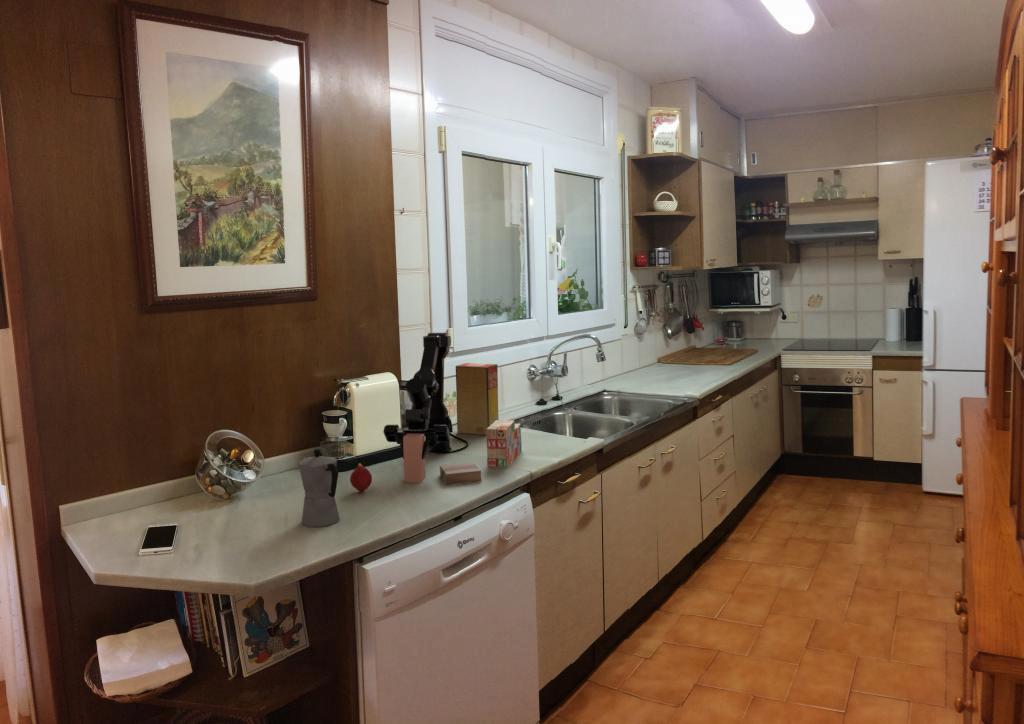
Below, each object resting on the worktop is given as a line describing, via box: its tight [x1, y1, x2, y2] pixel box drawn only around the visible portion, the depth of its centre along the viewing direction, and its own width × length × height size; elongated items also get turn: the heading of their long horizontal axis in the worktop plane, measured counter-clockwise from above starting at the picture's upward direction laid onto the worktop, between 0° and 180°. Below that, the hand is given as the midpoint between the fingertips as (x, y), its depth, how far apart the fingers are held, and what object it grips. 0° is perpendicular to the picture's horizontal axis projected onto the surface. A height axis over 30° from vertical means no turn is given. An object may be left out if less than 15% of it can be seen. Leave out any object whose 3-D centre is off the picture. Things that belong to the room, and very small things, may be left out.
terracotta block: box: [403, 434, 427, 483], centre depth 216 cm, size 5×5×13 cm
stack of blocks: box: [486, 419, 522, 468], centre depth 238 cm, size 21×6×12 cm, turn 167°
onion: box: [349, 463, 373, 493], centre depth 206 cm, size 6×6×8 cm
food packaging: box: [455, 362, 500, 437], centre depth 276 cm, size 13×9×25 cm
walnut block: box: [439, 461, 482, 486], centre depth 218 cm, size 10×10×4 cm
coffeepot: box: [297, 448, 341, 528], centre depth 182 cm, size 15×9×18 cm, turn 43°
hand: (413, 458), depth 215 cm, fingers closed on terracotta block, 5 cm apart
